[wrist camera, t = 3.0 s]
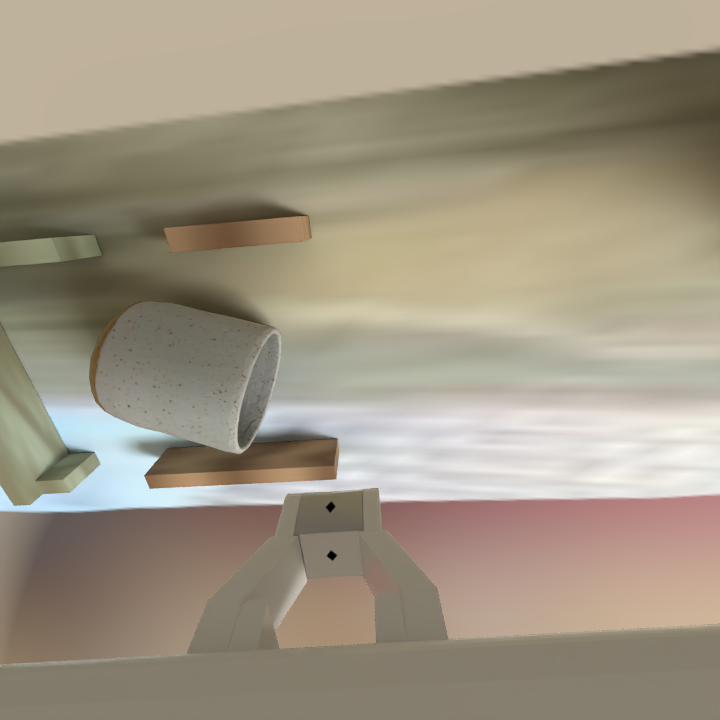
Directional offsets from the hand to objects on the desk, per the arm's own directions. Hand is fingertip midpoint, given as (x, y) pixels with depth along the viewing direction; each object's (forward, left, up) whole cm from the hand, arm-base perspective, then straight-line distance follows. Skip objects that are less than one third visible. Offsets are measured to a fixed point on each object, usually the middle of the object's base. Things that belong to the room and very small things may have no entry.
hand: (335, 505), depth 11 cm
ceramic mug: (+9, -1, -13) cm, 16 cm away
